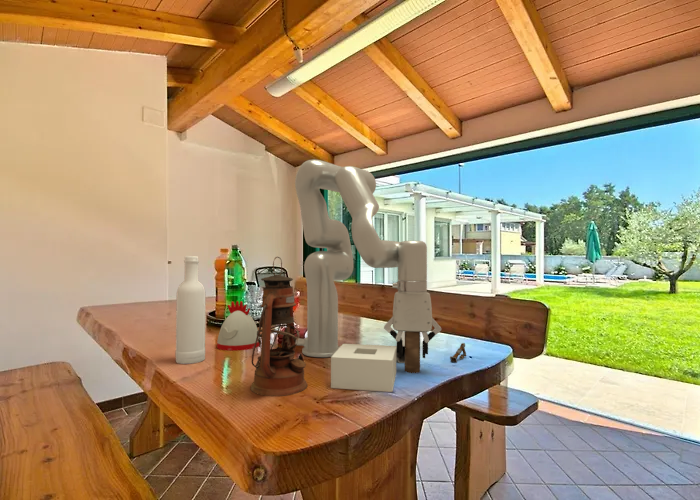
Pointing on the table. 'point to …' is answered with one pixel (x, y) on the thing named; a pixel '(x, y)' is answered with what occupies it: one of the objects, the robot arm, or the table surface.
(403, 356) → the tube
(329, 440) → the table surface
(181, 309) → the bottle
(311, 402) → the table surface
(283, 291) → the lantern
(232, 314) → the white and red dome
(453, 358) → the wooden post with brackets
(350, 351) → the bore block
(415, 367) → the pin
